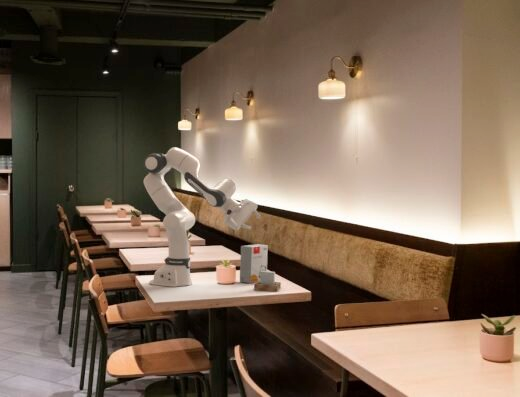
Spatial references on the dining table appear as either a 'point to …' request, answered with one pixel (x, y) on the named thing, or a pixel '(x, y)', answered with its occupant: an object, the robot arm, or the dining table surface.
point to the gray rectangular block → (267, 278)
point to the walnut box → (267, 286)
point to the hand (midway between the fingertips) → (255, 222)
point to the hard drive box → (253, 262)
